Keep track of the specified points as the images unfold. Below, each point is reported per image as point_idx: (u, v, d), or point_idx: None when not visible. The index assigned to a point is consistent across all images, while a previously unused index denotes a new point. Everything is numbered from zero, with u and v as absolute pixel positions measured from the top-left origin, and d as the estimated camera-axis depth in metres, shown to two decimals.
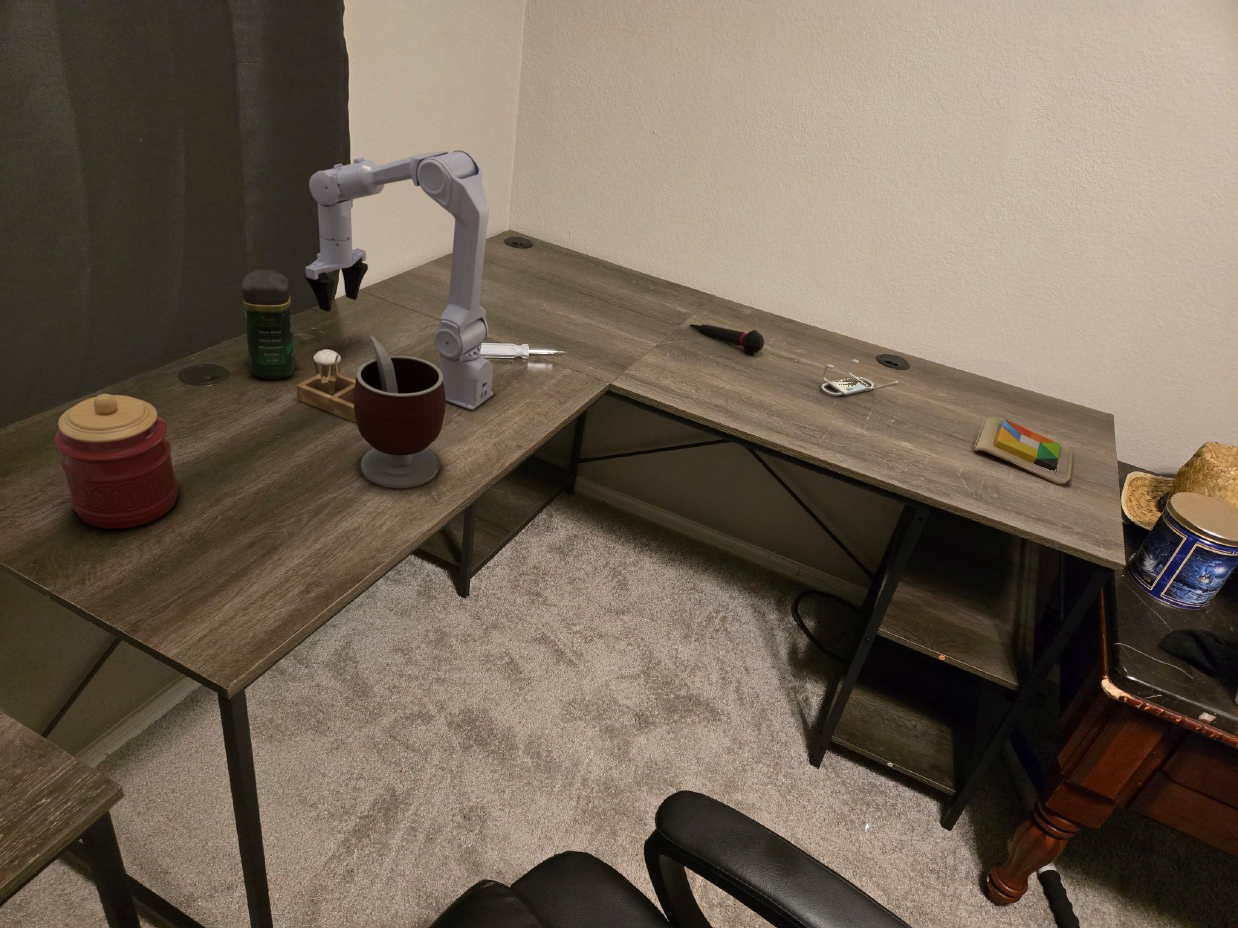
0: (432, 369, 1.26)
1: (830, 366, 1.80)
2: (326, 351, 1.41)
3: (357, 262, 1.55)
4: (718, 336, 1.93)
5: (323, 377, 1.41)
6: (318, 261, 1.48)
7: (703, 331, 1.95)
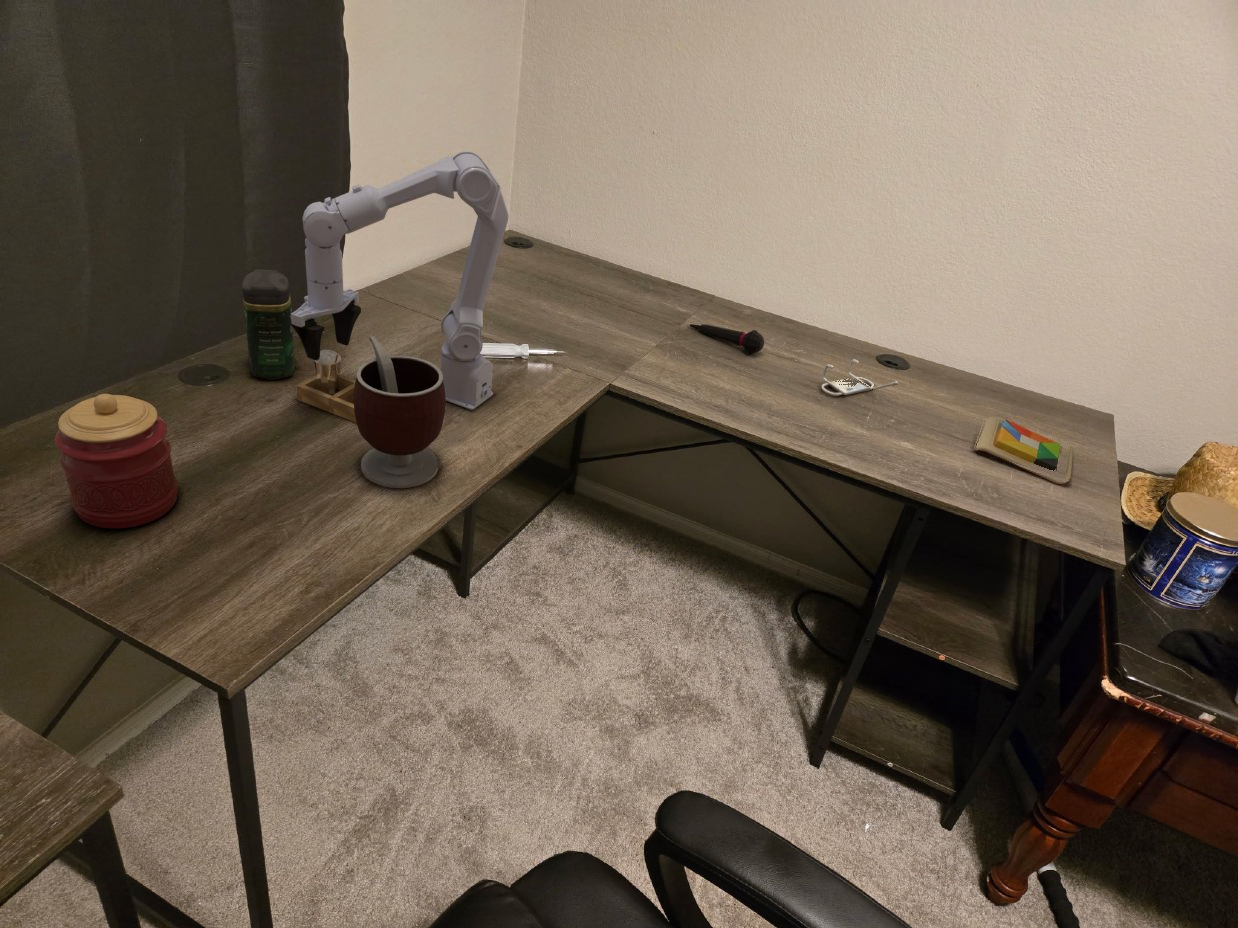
0: (432, 369, 1.26)
1: (830, 366, 1.80)
2: (326, 351, 1.41)
3: (349, 305, 1.40)
4: (718, 336, 1.93)
5: (323, 377, 1.41)
6: (305, 305, 1.34)
7: (703, 331, 1.95)
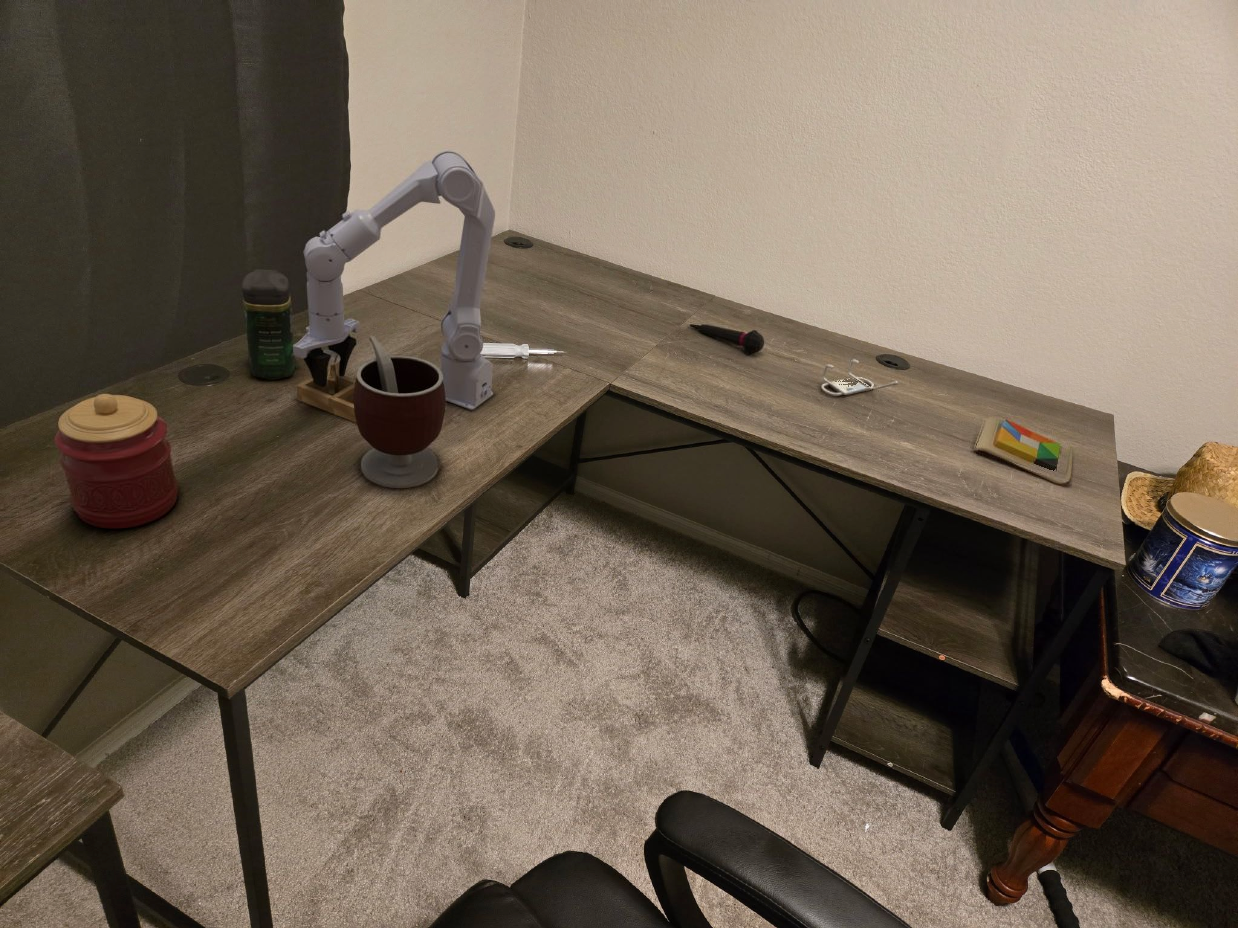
0: (432, 369, 1.26)
1: (830, 366, 1.80)
2: (325, 351, 1.41)
3: None
4: (718, 336, 1.93)
5: None
6: (307, 336, 1.36)
7: (703, 331, 1.95)
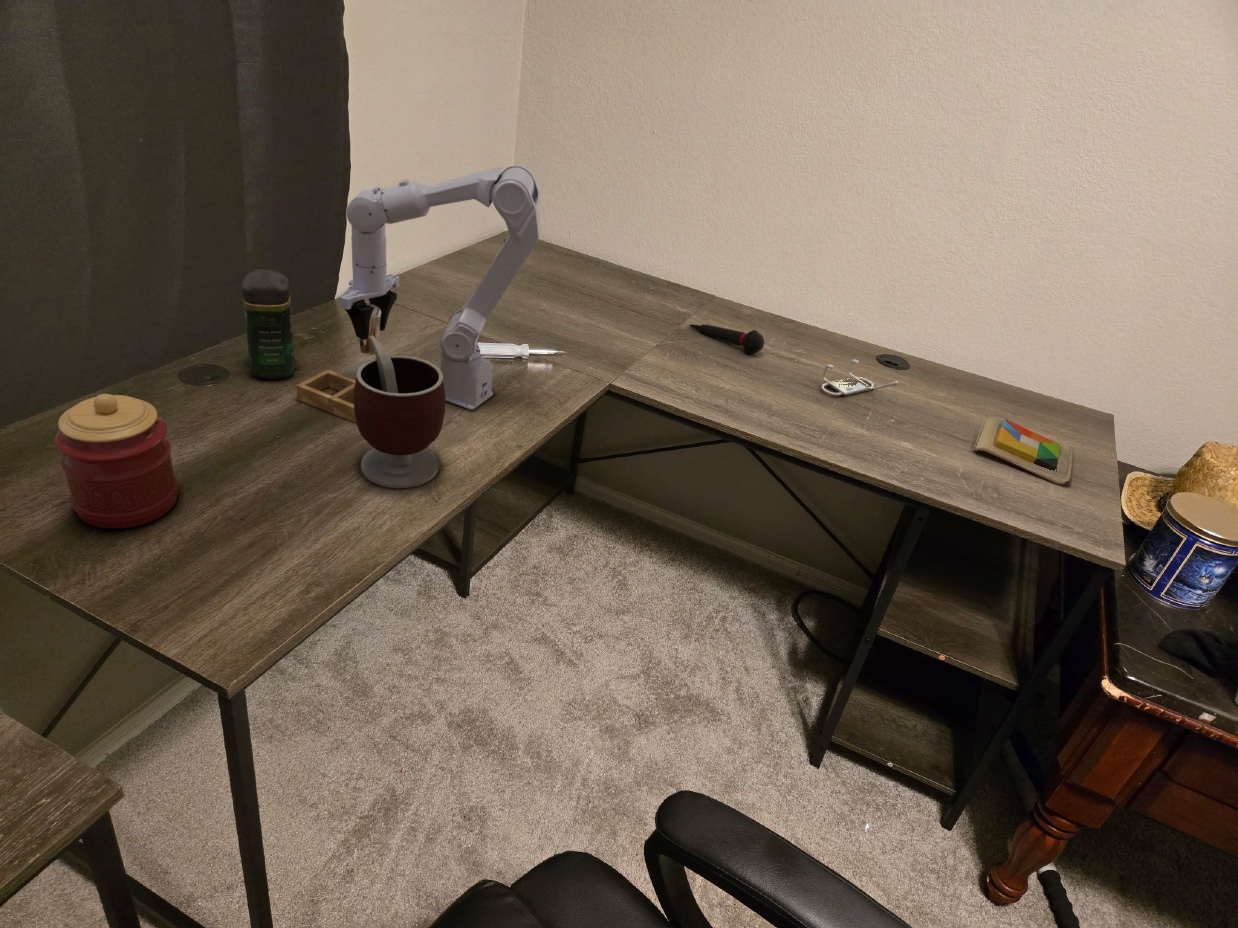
0: (432, 369, 1.26)
1: (830, 366, 1.80)
2: None
3: None
4: (718, 336, 1.93)
5: None
6: (350, 289, 1.40)
7: (703, 331, 1.95)
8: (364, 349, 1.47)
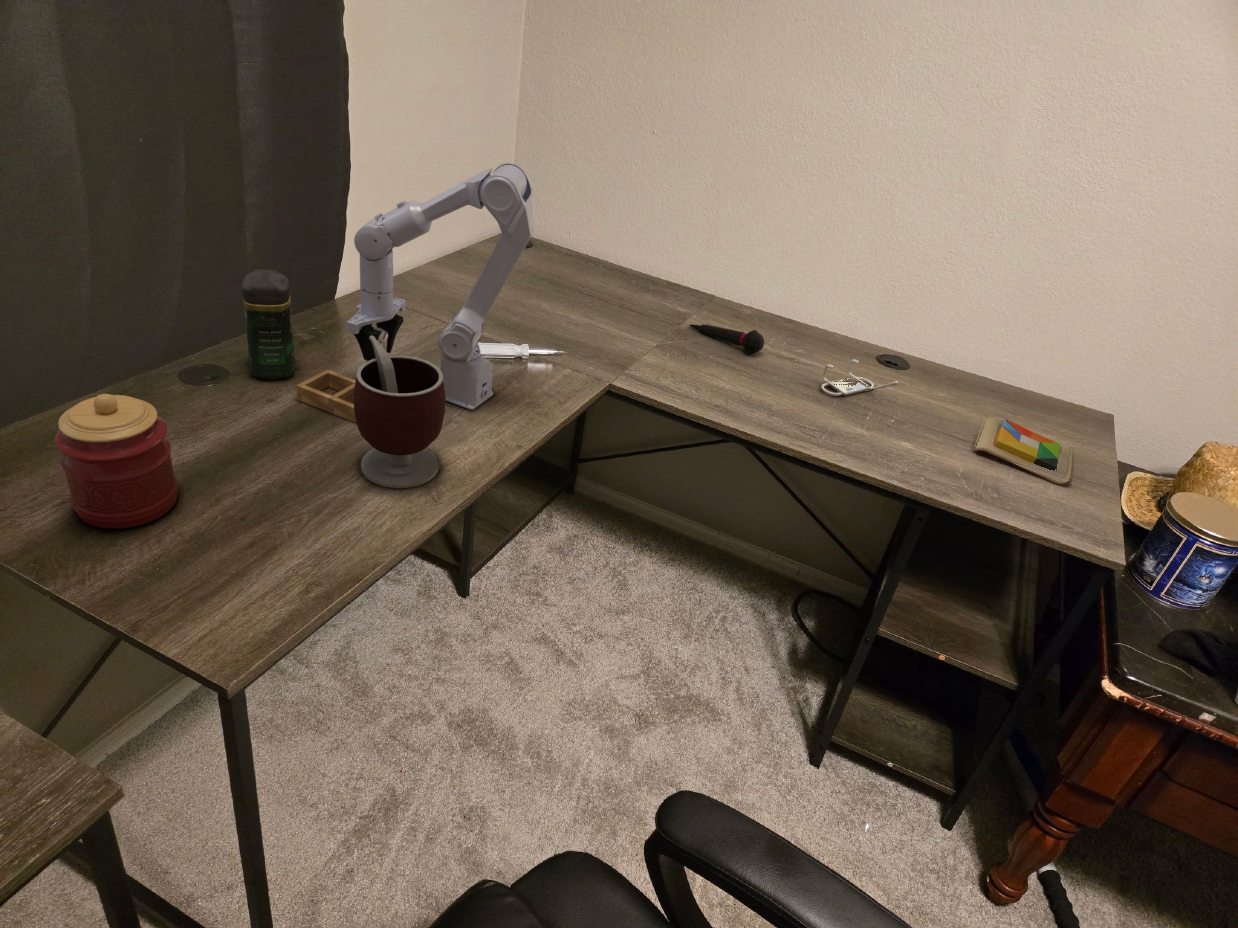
0: (432, 369, 1.26)
1: (830, 366, 1.80)
2: (374, 328, 1.48)
3: None
4: (718, 336, 1.93)
5: None
6: (358, 314, 1.44)
7: (703, 331, 1.95)
8: None
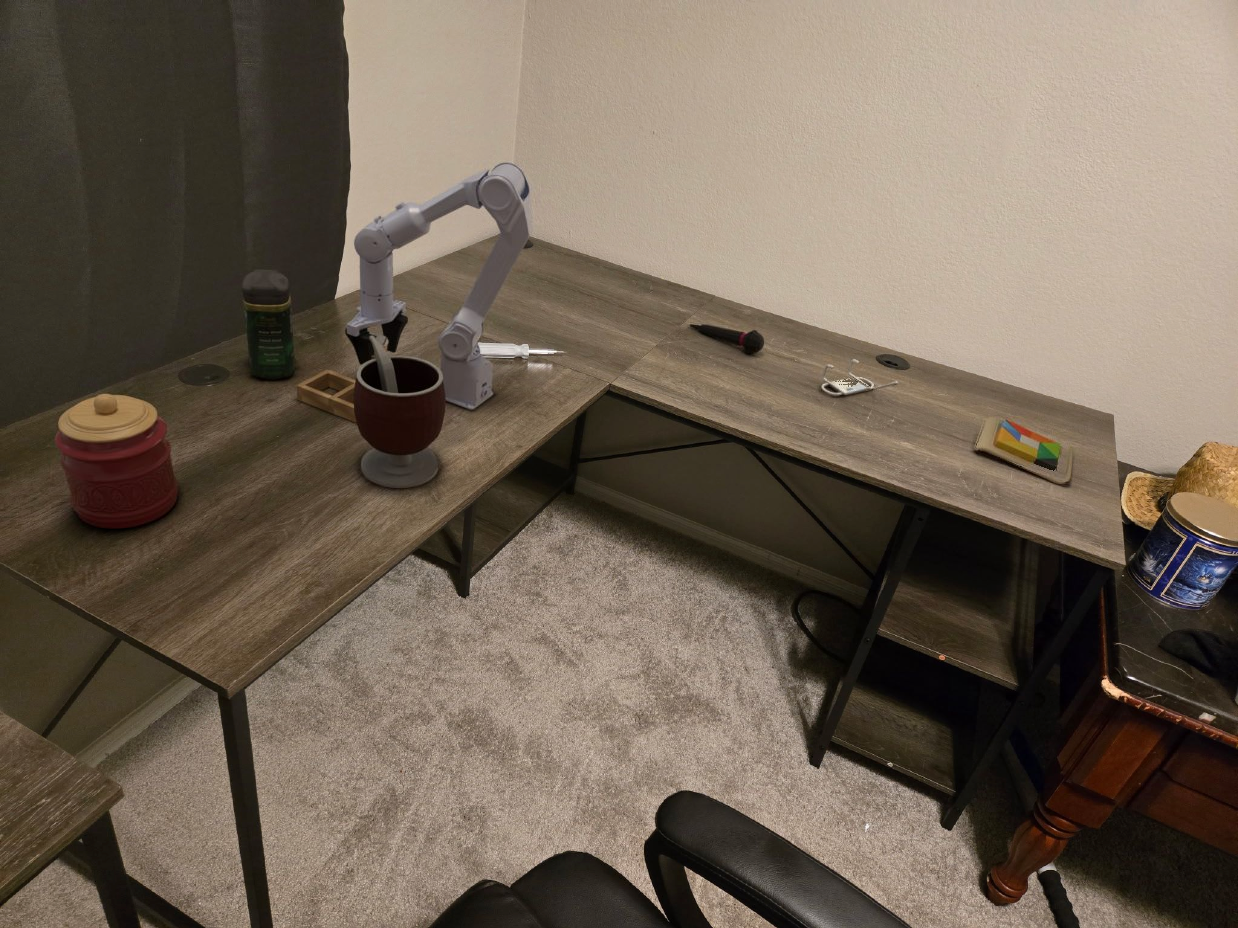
0: (432, 369, 1.26)
1: (830, 366, 1.80)
2: (375, 334, 1.49)
3: (397, 315, 1.50)
4: (718, 336, 1.93)
5: None
6: (358, 316, 1.44)
7: (703, 331, 1.95)
8: None
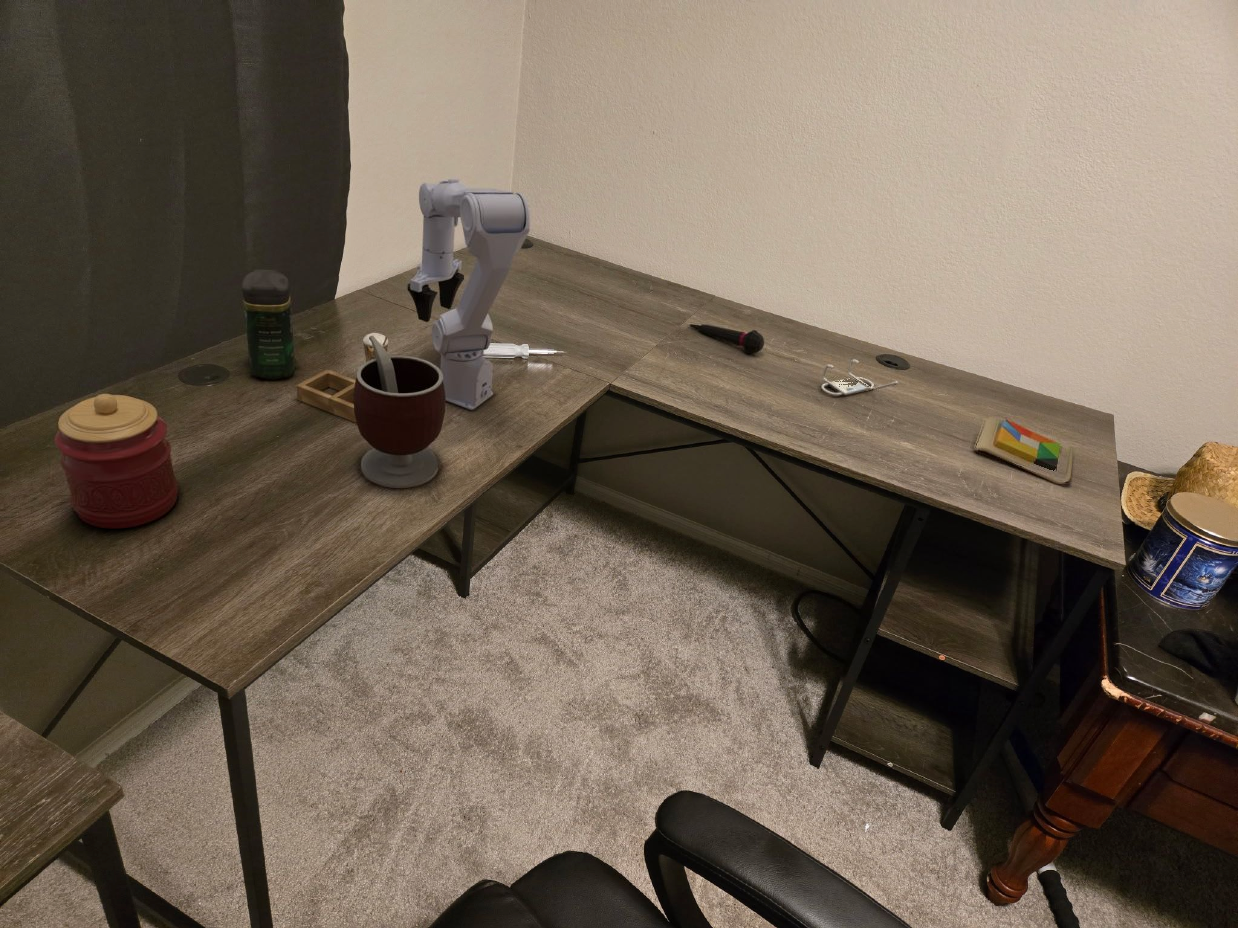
0: (432, 369, 1.26)
1: (830, 366, 1.80)
2: (375, 334, 1.49)
3: (454, 272, 1.57)
4: (718, 336, 1.93)
5: None
6: (420, 273, 1.50)
7: (703, 331, 1.95)
8: None
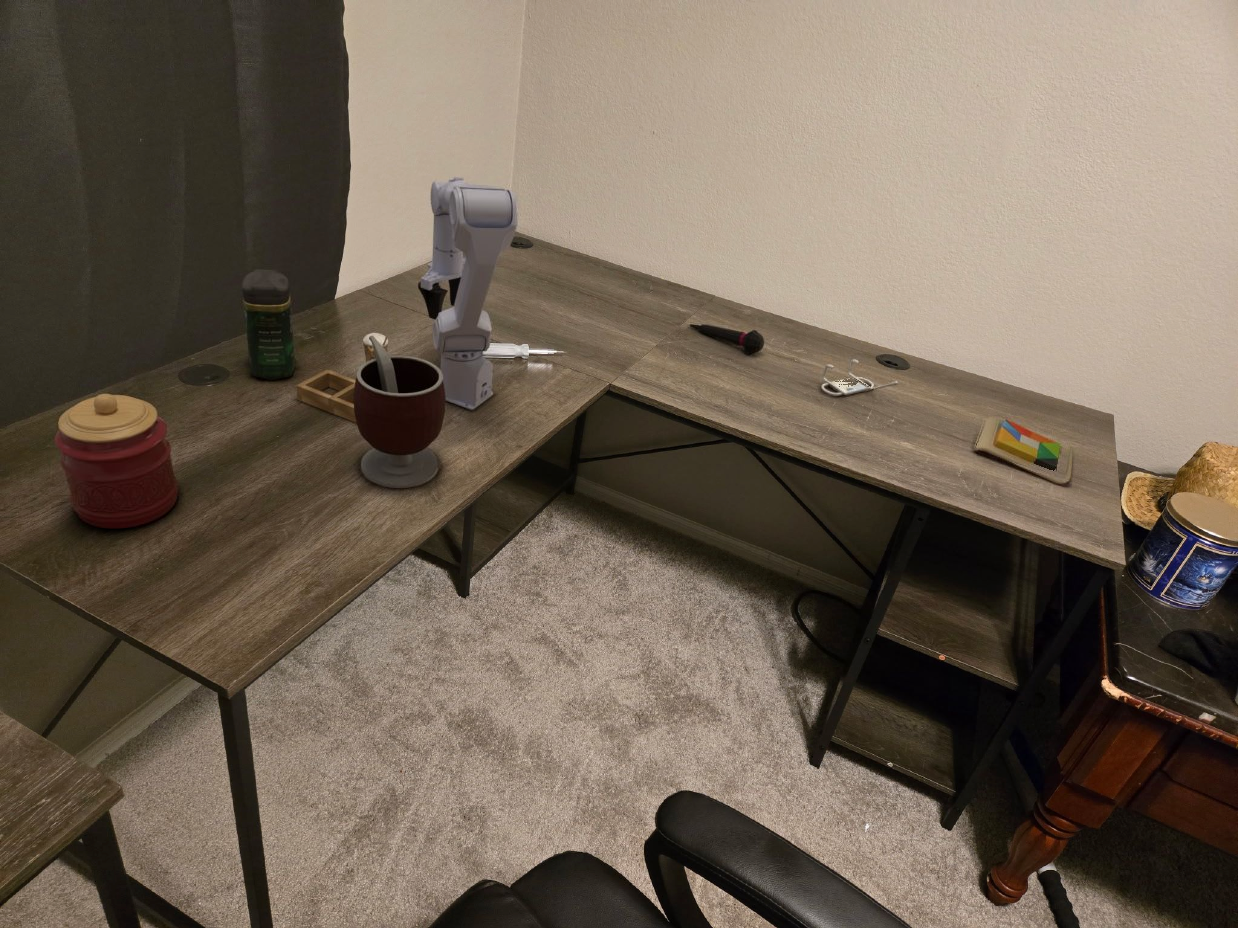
0: (432, 369, 1.26)
1: (830, 366, 1.80)
2: (375, 334, 1.49)
3: None
4: (718, 336, 1.93)
5: None
6: (430, 271, 1.52)
7: (703, 331, 1.95)
8: None
